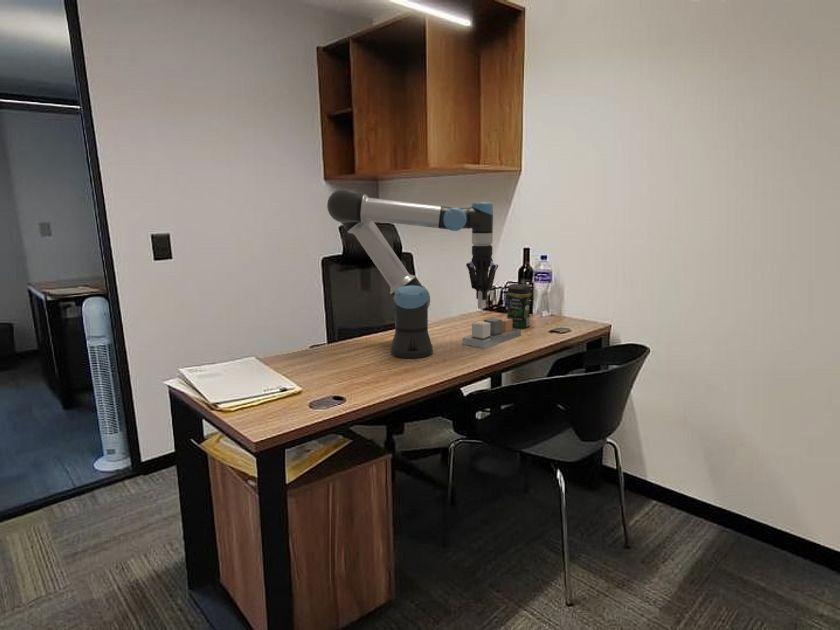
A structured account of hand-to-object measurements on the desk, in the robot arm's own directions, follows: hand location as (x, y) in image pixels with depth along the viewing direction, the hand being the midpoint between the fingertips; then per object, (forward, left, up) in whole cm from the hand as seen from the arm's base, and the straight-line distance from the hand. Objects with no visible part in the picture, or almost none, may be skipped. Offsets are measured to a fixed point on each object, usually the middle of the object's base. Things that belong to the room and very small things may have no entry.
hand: (481, 308), depth 194 cm
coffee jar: (+34, +4, -14) cm, 37 cm away
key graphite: (+8, 0, -11) cm, 13 cm away
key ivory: (0, 0, -11) cm, 11 cm away
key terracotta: (+16, 0, -12) cm, 20 cm away
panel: (+8, 0, -14) cm, 16 cm away
